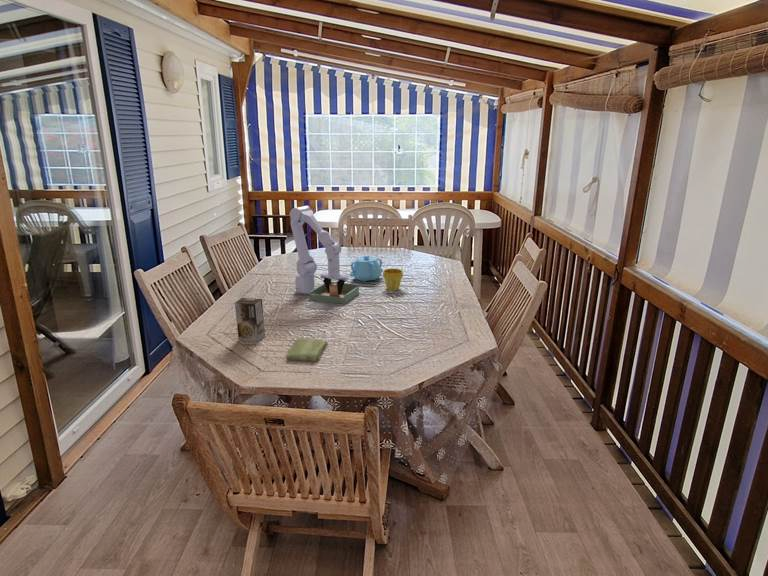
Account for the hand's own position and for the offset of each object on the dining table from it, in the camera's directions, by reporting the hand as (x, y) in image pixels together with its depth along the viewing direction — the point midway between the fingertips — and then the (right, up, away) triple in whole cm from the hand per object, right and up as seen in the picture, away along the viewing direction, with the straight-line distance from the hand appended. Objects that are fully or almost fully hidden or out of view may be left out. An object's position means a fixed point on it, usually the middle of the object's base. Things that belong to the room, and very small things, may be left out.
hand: (334, 293), depth 254 cm
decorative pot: (+15, +8, +31) cm, 35 cm away
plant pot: (+30, +2, +13) cm, 33 cm away
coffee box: (-29, -18, -50) cm, 60 cm away
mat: (-5, -6, -13) cm, 15 cm away
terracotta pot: (0, -1, 0) cm, 2 cm away
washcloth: (-4, -22, -62) cm, 66 cm away
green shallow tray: (0, -2, +1) cm, 2 cm away
